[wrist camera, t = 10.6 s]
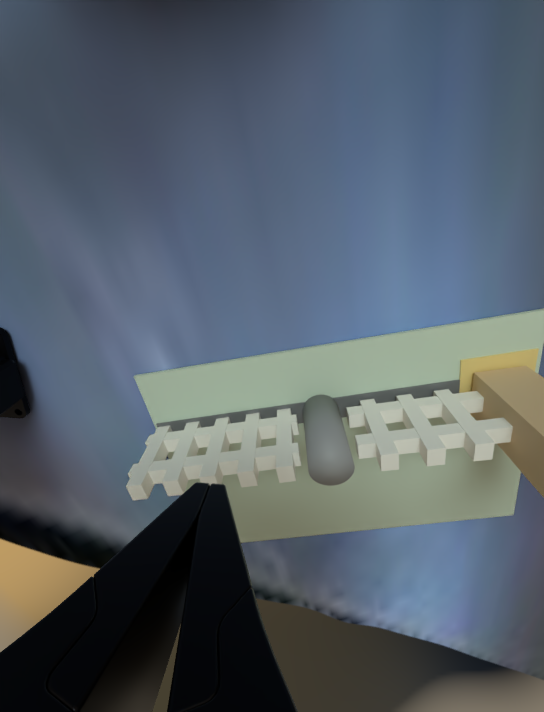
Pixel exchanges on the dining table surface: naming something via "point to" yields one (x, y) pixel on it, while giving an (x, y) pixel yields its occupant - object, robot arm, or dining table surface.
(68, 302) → the dining table surface
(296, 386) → the mat
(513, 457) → the gate
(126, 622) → the robot arm
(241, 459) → the fixed fence
